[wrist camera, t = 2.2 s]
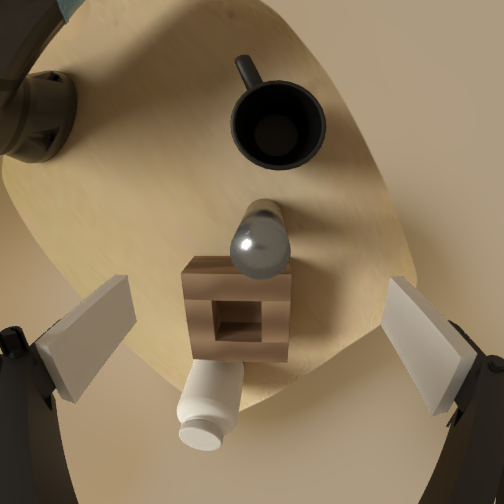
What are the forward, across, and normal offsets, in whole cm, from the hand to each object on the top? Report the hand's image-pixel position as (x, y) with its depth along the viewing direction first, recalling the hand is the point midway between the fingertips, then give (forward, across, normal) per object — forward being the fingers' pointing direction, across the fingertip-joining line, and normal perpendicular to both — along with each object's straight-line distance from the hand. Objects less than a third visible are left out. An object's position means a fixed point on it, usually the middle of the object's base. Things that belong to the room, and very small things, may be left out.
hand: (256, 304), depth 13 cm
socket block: (+22, -3, -11) cm, 25 cm away
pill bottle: (+22, -7, -23) cm, 32 cm away
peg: (+22, 0, 0) cm, 22 cm away
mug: (+22, +1, +12) cm, 25 cm away
